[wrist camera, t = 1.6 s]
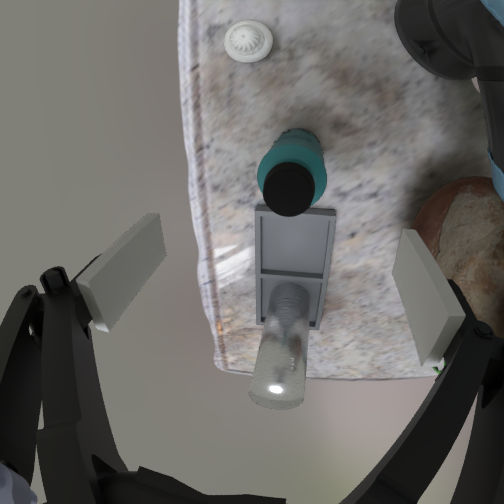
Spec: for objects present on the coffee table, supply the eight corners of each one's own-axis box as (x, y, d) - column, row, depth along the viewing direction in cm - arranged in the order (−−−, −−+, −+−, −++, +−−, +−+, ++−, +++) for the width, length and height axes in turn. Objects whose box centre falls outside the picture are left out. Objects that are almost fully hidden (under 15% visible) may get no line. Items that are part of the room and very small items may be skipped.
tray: (334, 209, 41) (336, 216, 39) (319, 321, 53) (318, 330, 51) (257, 204, 43) (254, 210, 41) (258, 316, 55) (256, 324, 53)
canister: (312, 284, 47) (307, 385, 31) (308, 315, 51) (300, 411, 34) (270, 281, 49) (247, 378, 32) (269, 311, 52) (249, 406, 35)
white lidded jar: (285, 47, 31) (281, 37, 25) (250, 74, 33) (239, 69, 28) (255, 18, 29) (244, 4, 23) (221, 45, 32) (205, 36, 26)
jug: (418, 294, 46) (446, 449, 22) (367, 200, 40) (402, 379, 16) (511, 242, 35) (587, 373, 11) (479, 133, 29) (625, 234, 5)
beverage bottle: (327, 163, 38) (343, 222, 21) (283, 176, 40) (262, 243, 23) (313, 120, 35) (318, 140, 18) (267, 134, 38) (231, 168, 21)
